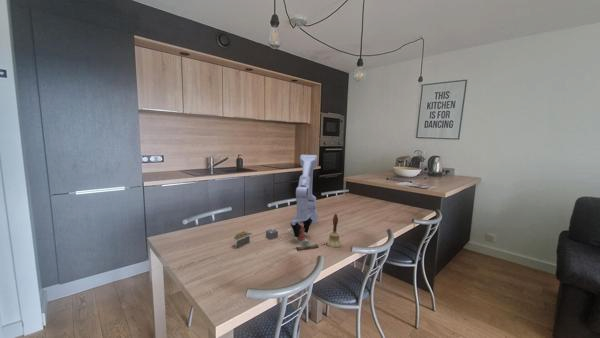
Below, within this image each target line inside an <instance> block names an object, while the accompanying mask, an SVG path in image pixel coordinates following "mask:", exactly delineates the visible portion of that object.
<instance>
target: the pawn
mask: <svg viewBox="0 0 600 338" xmlns="http://www.w3.org/2000/svg"><path fill="white" fill-rule="evenodd" d="M304 231H305V228H304V225H303V226H302V225H301V228H300V232H299V237H297V239H298V240H300V241H302V242H304V241H303V240H305V238H306V236H305V232H304Z"/></svg>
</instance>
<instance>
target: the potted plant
mask: <svg viewBox="0 0 600 338" xmlns="http://www.w3.org/2000/svg"><path fill="white" fill-rule="evenodd" d="M252 235H253V233H252V232H248V231H245V230H243V231H240V232H238V233H236V234H235V236H233V240H234V241H236V248H240V247H242V246H243V245H246V244H248V243H250V236H252Z"/></svg>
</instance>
